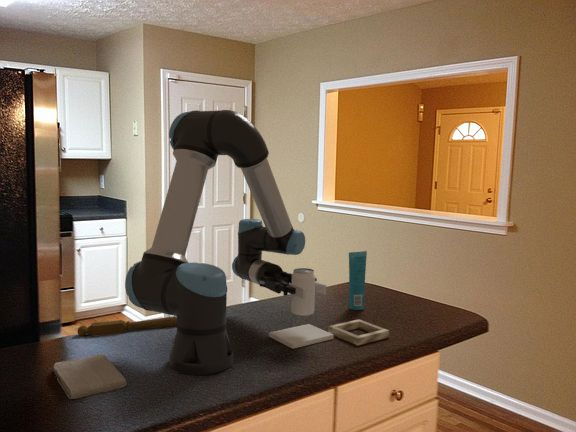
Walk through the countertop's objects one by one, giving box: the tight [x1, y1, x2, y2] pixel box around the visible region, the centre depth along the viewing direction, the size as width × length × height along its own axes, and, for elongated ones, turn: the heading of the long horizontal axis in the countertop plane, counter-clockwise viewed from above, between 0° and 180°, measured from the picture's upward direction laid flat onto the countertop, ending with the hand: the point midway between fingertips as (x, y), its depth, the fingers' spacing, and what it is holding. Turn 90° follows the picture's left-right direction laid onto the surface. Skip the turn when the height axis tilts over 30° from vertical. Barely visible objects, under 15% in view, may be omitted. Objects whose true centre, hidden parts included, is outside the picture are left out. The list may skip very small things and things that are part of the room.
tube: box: [348, 250, 368, 311], centre depth 172 cm, size 7×5×19 cm, turn 127°
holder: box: [327, 319, 390, 347], centre depth 147 cm, size 12×12×2 cm
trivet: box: [268, 323, 335, 349], centre depth 144 cm, size 14×11×1 cm
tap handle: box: [77, 315, 177, 337], centre depth 147 cm, size 3×3×30 cm
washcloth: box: [53, 353, 128, 400], centre depth 114 cm, size 12×18×3 cm, turn 37°
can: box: [290, 267, 316, 317], centre depth 143 cm, size 6×6×12 cm
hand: (314, 291), depth 138 cm, fingers closed on can, 6 cm apart
